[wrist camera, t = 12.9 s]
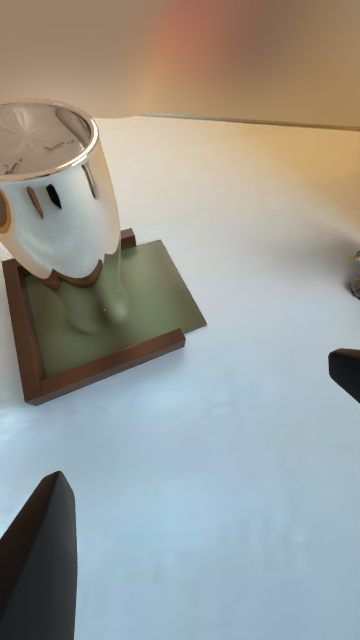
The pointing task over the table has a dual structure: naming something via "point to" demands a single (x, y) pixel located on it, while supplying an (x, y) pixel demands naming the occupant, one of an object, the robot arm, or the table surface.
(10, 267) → the dock
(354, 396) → the robot arm
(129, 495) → the table surface
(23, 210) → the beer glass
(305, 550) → the table surface
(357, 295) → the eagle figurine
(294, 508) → the table surface
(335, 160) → the table surface
